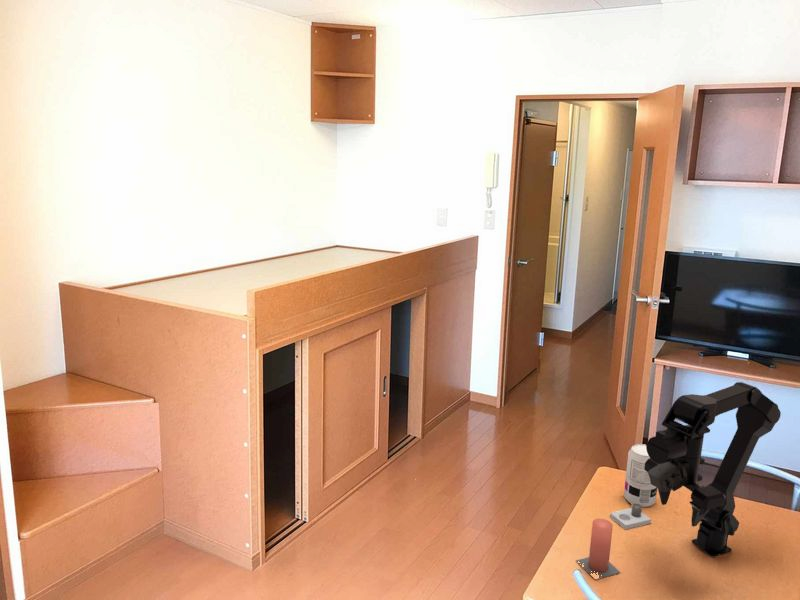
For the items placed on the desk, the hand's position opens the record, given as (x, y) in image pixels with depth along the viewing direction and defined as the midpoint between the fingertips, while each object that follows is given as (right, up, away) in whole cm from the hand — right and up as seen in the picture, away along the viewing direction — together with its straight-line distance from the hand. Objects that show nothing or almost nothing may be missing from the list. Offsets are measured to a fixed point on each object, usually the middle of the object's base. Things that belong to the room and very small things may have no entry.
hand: (678, 514), depth 146 cm
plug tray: (-4, -8, +21) cm, 22 cm away
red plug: (-18, -12, +2) cm, 22 cm away
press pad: (-18, -13, +2) cm, 22 cm away
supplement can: (+2, -6, +30) cm, 31 cm away
